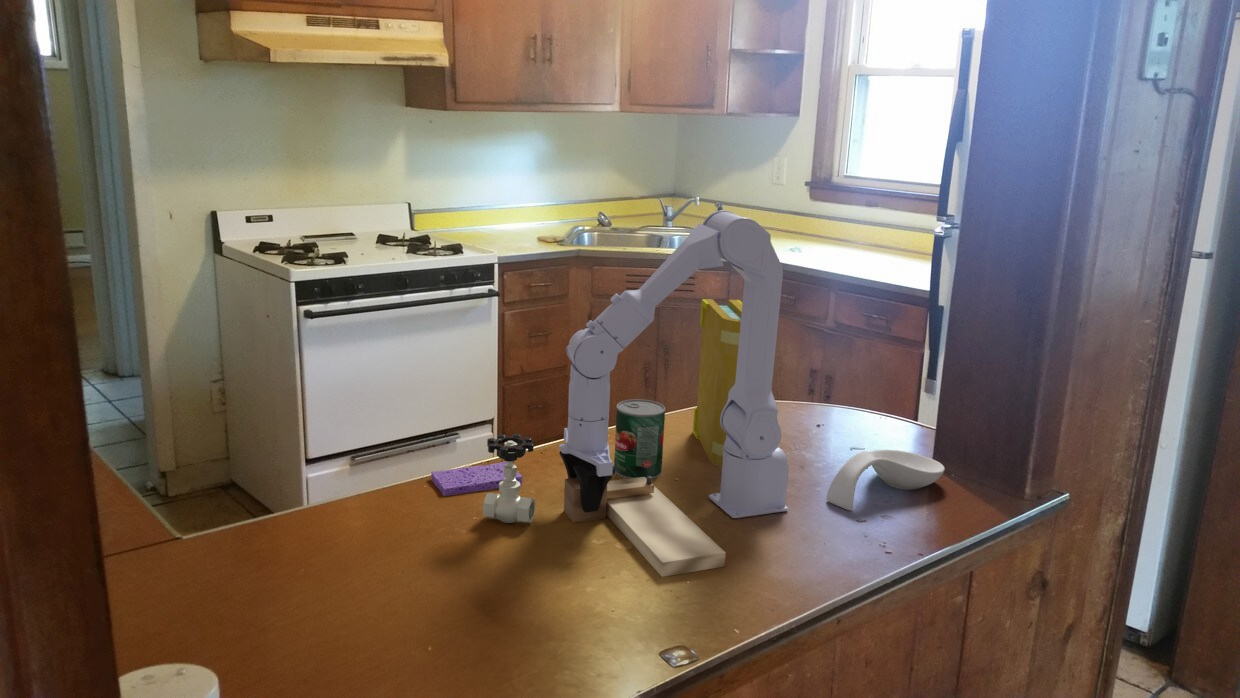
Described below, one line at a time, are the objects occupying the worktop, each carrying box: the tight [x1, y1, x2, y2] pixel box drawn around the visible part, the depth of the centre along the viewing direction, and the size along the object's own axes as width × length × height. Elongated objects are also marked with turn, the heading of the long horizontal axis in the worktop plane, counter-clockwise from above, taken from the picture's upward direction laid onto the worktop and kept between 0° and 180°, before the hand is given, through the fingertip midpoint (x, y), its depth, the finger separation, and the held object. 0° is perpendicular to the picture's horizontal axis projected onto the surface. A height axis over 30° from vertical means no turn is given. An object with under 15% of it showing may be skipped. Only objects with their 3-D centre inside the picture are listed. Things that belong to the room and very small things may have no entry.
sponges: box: [430, 461, 523, 497], centre depth 142 cm, size 7×13×2 cm, turn 116°
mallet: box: [563, 476, 655, 523], centre depth 134 cm, size 13×4×5 cm, turn 112°
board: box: [606, 477, 726, 578], centre depth 129 cm, size 9×26×2 cm, turn 23°
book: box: [692, 298, 743, 468], centre depth 158 cm, size 17×7×25 cm, turn 6°
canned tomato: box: [613, 398, 666, 480], centre depth 148 cm, size 8×8×11 cm
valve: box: [482, 433, 536, 524], centre depth 128 cm, size 7×7×12 cm
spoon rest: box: [826, 449, 945, 512], centre depth 146 cm, size 24×12×7 cm, turn 131°
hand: (585, 504), depth 132 cm, fingers closed on mallet, 4 cm apart
